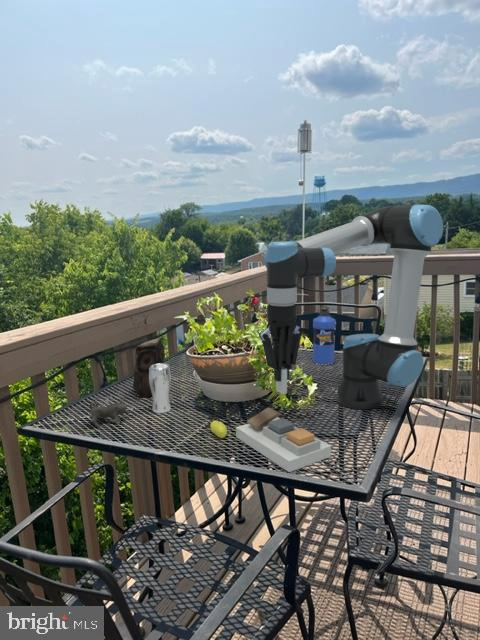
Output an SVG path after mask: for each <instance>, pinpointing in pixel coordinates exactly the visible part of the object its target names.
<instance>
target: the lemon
mask: <svg viewBox="0 0 480 640" xmlns="http://www.w3.org/2000/svg"><path fill="white" fill-rule="evenodd" d="M227 428H228V427H227V426H226V425H225V424H224V423H223V422H222V421H218V420H212V421H211V423H210V431H211V432H212V433H213V434H214V435H215V436H217V438H221V439H224V438H225V437H227V434H228V429H227Z"/></svg>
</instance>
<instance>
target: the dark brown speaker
mask: <svg viewBox="0 0 480 640" xmlns="http://www.w3.org/2000/svg"><path fill="white" fill-rule="evenodd" d="M162 339H163V338H162V336H161V337H157V338H155V339H151V340H148V341H145V342H143V343H141V344H140V345H139V344H137V346H136V347H135V353H134V358H135V363H134V372H133V373H134V374H133V383H132V384H133V385H132V387H133V391H134V390H135V391H134V392H135V394H136V393H137V394H136V396H137V395H139V396H138V398H139V397H140V398H151V397H152V393H151V389H150V384H149V366H150V365H153V364H158V363H164V364H165V357H166V355H165V347H164V344H163V341H162ZM140 398H139V399H140ZM151 399H152V398H151Z"/></svg>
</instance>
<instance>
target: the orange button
mask: <svg viewBox="0 0 480 640" xmlns="http://www.w3.org/2000/svg"><path fill="white" fill-rule="evenodd" d="M314 437H316V436H315V434H314V433H312V432H310V431H309V430H306V429H304V428H303V427H300V428H299V429H297V430H294V431H291V432H288V433H287V440H289V441H291V442H293V443H294V444H296V445H298V446H302V445H305V444H308V443H311V442H313V441H314Z"/></svg>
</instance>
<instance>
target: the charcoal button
mask: <svg viewBox="0 0 480 640" xmlns="http://www.w3.org/2000/svg"><path fill="white" fill-rule="evenodd" d="M294 426H295V423H293V422H292V421H289V420H287V419H285V418H283V417H282V418H280V419H278V420H274V421H271V422H268V429H270V430H272V431H274V432H275V433H277V434H279V435H281V434H284V433H287V432H290V431H293V430H294Z"/></svg>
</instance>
